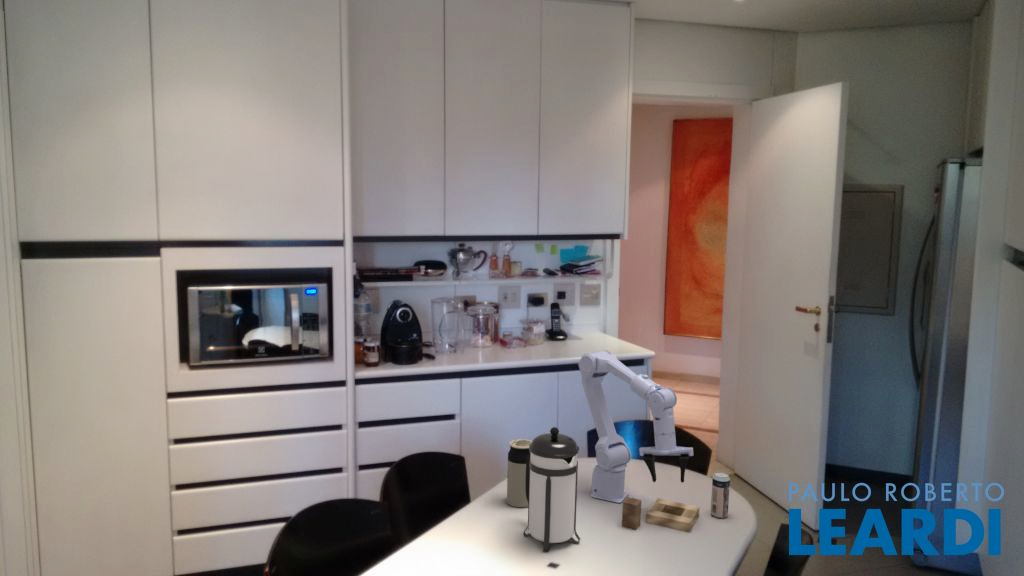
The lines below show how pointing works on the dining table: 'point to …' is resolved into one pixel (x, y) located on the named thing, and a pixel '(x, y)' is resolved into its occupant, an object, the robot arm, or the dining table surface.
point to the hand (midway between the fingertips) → (668, 481)
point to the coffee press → (552, 488)
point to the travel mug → (517, 472)
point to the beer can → (720, 495)
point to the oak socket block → (672, 515)
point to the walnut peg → (631, 513)
